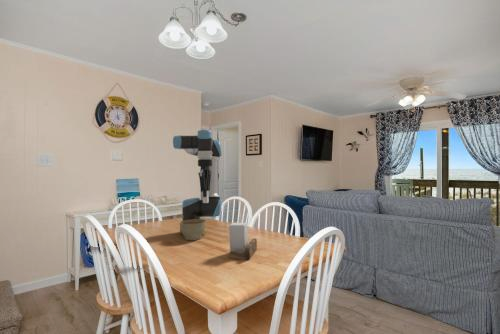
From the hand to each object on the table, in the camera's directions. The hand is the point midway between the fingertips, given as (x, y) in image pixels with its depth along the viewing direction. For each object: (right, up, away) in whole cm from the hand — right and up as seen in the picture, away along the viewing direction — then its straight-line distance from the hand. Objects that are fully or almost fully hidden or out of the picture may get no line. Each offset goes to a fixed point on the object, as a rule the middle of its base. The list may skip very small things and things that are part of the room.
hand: (205, 202), depth 149 cm
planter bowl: (-12, -26, +24) cm, 37 cm away
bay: (+21, -25, -7) cm, 34 cm away
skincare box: (+18, -26, -7) cm, 32 cm away
